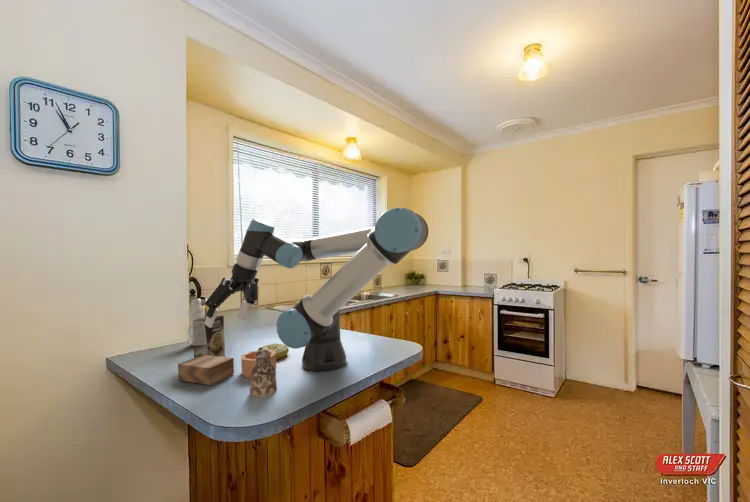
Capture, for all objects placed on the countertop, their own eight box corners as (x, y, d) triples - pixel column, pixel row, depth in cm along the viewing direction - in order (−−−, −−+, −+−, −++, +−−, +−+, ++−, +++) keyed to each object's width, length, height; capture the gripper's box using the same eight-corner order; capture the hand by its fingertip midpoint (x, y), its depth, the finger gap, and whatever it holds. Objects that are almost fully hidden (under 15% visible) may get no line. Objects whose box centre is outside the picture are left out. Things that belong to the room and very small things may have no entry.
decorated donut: (250, 358, 124) (250, 347, 124) (279, 350, 132) (278, 340, 132) (264, 365, 116) (264, 353, 116) (294, 356, 124) (293, 345, 124)
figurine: (250, 399, 89) (249, 354, 89) (249, 389, 95) (247, 347, 95) (278, 393, 92) (276, 350, 92) (275, 384, 98) (273, 344, 98)
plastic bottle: (185, 347, 141) (183, 300, 141) (196, 342, 148) (194, 298, 148) (199, 347, 140) (197, 300, 140) (209, 343, 147) (207, 297, 147)
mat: (233, 375, 107) (233, 374, 107) (212, 385, 99) (212, 384, 99) (201, 370, 112) (201, 369, 112) (179, 379, 104) (179, 378, 104)
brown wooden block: (234, 373, 108) (233, 358, 107) (209, 385, 99) (208, 368, 99) (204, 369, 112) (203, 354, 112) (178, 380, 104) (178, 364, 103)
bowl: (282, 367, 112) (281, 351, 112) (260, 379, 102) (260, 361, 102) (257, 364, 116) (257, 348, 116) (234, 375, 106) (234, 358, 106)
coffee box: (209, 366, 116) (207, 320, 116) (193, 365, 117) (191, 320, 117) (226, 357, 125) (224, 315, 125) (211, 357, 126) (209, 315, 126)
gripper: (265, 259, 121) (245, 310, 124) (207, 260, 98) (184, 322, 101) (280, 269, 118) (259, 320, 122) (224, 271, 95) (200, 335, 99)
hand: (225, 321), depth 111 cm, fingers open, 13 cm apart
